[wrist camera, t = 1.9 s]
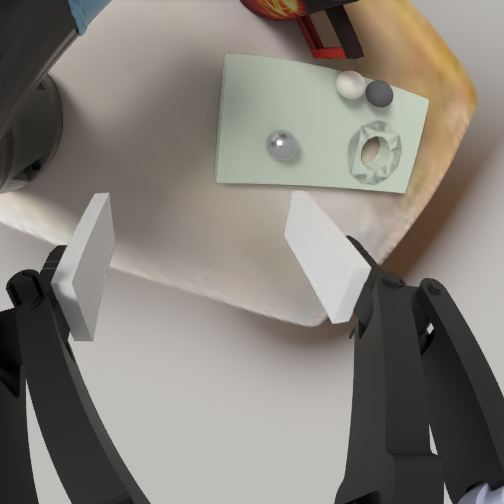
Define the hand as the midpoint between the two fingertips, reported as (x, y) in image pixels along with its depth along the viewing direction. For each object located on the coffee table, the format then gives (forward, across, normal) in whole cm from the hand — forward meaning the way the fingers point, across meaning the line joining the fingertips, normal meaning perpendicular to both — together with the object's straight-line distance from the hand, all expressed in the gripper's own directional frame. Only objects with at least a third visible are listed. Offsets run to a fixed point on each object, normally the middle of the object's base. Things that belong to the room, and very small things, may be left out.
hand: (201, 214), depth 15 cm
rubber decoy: (+15, +20, +7) cm, 26 cm away
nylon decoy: (+15, +16, +8) cm, 23 cm away
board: (+19, +16, +2) cm, 25 cm away
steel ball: (+15, +9, 0) cm, 18 cm away
